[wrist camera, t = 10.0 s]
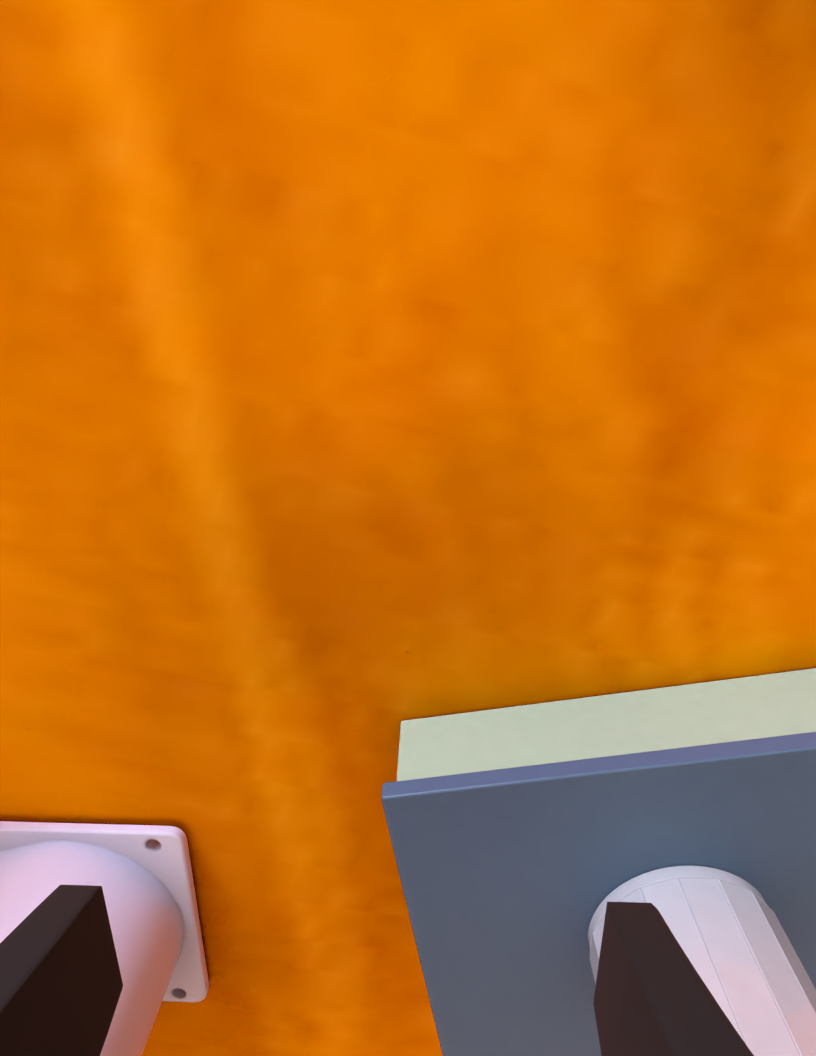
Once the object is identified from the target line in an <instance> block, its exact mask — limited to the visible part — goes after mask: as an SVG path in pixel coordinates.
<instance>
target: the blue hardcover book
mask: <svg viewBox="0 0 816 1056" xmlns="http://www.w3.org/2000/svg"><path fill="white" fill-rule="evenodd" d="M381 800H382V804H383V808H384V812H385V817H386V821H387V825H388V829H389V833H390V837H391V842H392V846H393V850H394V854H395V858H396V862H397V867H398V871H399V875H400V879H401V883H402V887H403V892H404V896H405V900H406V904H407V908H408V912H409V917H410V921H411V925H412V929H413V933H414V937H415V942H416V946H417V950H418V954H419V958H420V963H421V967H422V971H423V975H424V979H425V983H426V988H427V992H428V996H429V1000H430V1004H431V1008H432V1013H433V1017H434V1021H435V1025H436V1029H437V1033H438V1038H439V1042H440V1046H441V1050H442V1054H443V1056H602V1055H601V1049H600V1043H599V1036H598V1030H597V1024H596V1017H595V1011H594V1004H593V1001H594V994H595V987H596V985H595V981H594V976H593V972H592V967H591V963H590V958H589V957H590V952H589V947H588V929H589V925H590V921H591V919H592V916H593V914H594V912H595V911H596V909H597V907H598V906H599V905H600V903H601V902H602V901H603V900H604V898H605V897H606V896H608V895H609V894H610V893H611V892H612V891H613V890H614V889H616V888H617V887H618V886H620V885H621V884H623V883H625V882H626V881H628V880H630V879H632V878H634V877H636V876H638V875H641V874H643V873H646V872H649V871H652V870H656V869H660V868H665V867H672V866H684V865H694V866H706V867H711V868H717V869H720V870H723V871H727V872H729V873H732V874H734V875H736V876H739V877H740V878H742V879H744V880H745V881H747V882H748V883H750V884H751V885H752V886H753V887H755V888H756V889H757V890H758V891H759V892H760V893H761V894H762V896H763V897H764V898H765V900H766V901H767V903H768V905H769V907H770V908H771V910H773V911H774V913H775V915H776V916H777V918H778V920H779V922H780V924H781V926H782V928H783V929H784V931H785V933H786V935H787V937H788V939H789V941H790V942H791V944H792V946H793V948H794V950H795V952H796V954H797V955H798V957H799V959H800V961H801V963H802V965H803V967H804V968H805V970H806V972H807V974H808V976H809V978H810V980H811V981H812V983H813V985H814V987H815V989H816V668H813V669H805V670H797V671H789V672H781V673H773V674H765V675H758V676H750V677H742V678H734V679H726V680H718V681H710V682H703V683H695V684H687V685H679V686H671V687H663V688H656V689H648V690H640V691H632V692H624V693H616V694H608V695H601V696H593V697H585V698H577V699H569V700H561V701H553V702H546V703H538V704H530V705H522V706H514V707H506V708H498V709H491V710H483V711H475V712H467V713H459V714H451V715H443V716H436V717H428V718H420V719H412V720H404V721H401V727H400V740H399V753H398V766H397V780H396V782H387V783H383V786H382V795H381Z"/></svg>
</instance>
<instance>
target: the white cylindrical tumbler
mask: <svg viewBox="0 0 816 1056" xmlns="http://www.w3.org/2000/svg"><path fill="white" fill-rule="evenodd" d="M607 902H639V903H652V904H653V905H654V906H655V907H656V908H657V909H658V910H659V912H660V914H661V915H662V917H663V919H664V920H665V922H666V924H667V925H668V927H669V928H670V930H671V932H672V933H673V935H674V936H675V938H676V940H677V941H678V943H679V945H680V946H681V948H682V949H683V951H684V952H685V954H686V956H687V957H688V959H689V960H690V962H691V963H692V965H693V966H694V968H695V970H696V971H697V973H698V974H699V976H700V977H701V979H702V980H703V982H704V983H705V985H706V986H707V988H708V989H709V991H710V992H711V994H712V995H713V997H714V998H715V1000H716V1001H717V1003H718V1004H719V1006H720V1007H721V1009H722V1010H723V1012H724V1013H725V1015H726V1016H727V1018H728V1019H729V1021H730V1022H731V1024H732V1025H733V1027H734V1028H735V1029H736V1031H737V1032H738V1034H739V1035H740V1037H741V1038H742V1040H743V1041H744V1042H745V1044H746V1045H747V1047H748V1048H749V1049H750V1051H751V1052H752V1054H753V1055H754V1056H816V989H815V987H814V985H813V983H812V981H811V980H810V978H809V976H808V974H807V972H806V970H805V968H804V967H803V965H802V963H801V961H800V959H799V957H798V955H797V954H796V952H795V950H794V948H793V946H792V944H791V942H790V941H789V939H788V937H787V935H786V933H785V931H784V929H783V928H782V926H781V924H780V922H779V920H778V918H777V916H776V915H775V913H774V911H773V910H771V908H770V907H769V905H768V903H767V901H766V900H765V898H764V897H763V896H762V894H761V893H760V892H759V891H758V890H757V889H756V888H755V887H753V886H752V885H751V884H750V883H748V882H747V881H745V880H744V879H742V878H740V877H739V876H736V875H734V874H732V873H729V872H727V871H723V870H720V869H717V868H711V867H706V866H694V865H684V866H672V867H665V868H660V869H656V870H652V871H649V872H646V873H643V874H641V875H638V876H636V877H634V878H632V879H630V880H628V881H626V882H625V883H623V884H621V885H620V886H618V887H617V888H616V889H614V890H613V891H612V892H611V893H610V894H609V895H608V896H606V897H605V898H604V900H603V901H602V902H601V903H600V905H599V906H598V907H597V909H596V911H595V912H594V914H593V916H592V919H591V921H590V925H589V929H588V947H589V952H590V957H589V958H590V963H591V967H592V972H593V976H594V981H595V985H596V979H597V972H598V965H599V957H600V950H601V942H602V935H603V928H604V920H605V913H606V906H607Z"/></svg>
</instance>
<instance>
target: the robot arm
mask: <svg viewBox="0 0 816 1056" xmlns="http://www.w3.org/2000/svg"><path fill="white" fill-rule="evenodd" d="M152 839H154V840H157V841H158V842H156V841H154V840H152ZM208 989H209V981H208V974H207V967H206V961H205V954H204V948H203V941H202V934H201V928H200V921H199V914H198V908H197V901H196V895H195V888H194V881H193V875H192V868H191V861H190V855H189V848H188V842H187V837H186V834H185V833H184V832H183V831H182V830H181V829H180V828H178V827H174V826H157V825H121V824H85V823H49V822H12V821H0V1056H142V1054H143V1051H144V1048H145V1046H146V1043H147V1040H148V1038H149V1035H150V1032H151V1030H152V1027H153V1025H154V1022H155V1019H156V1017H157V1014H158V1011H159V1009H160V1006H161V1003H162V1001H169V1002H200V1001H202V1000H204V999H205V997H206V995H207V992H208ZM593 1004H594V1011H595V1017H596V1024H597V1030H598V1036H599V1043H600V1049H601V1055H602V1056H754V1055H753V1054H752V1052H751V1051H750V1049H749V1048H748V1047H747V1045H746V1044H745V1042H744V1041H743V1040H742V1038H741V1037H740V1035H739V1034H738V1032H737V1031H736V1029H735V1028H734V1027H733V1025H732V1024H731V1022H730V1021H729V1019H728V1018H727V1016H726V1015H725V1013H724V1012H723V1010H722V1009H721V1007H720V1006H719V1004H718V1003H717V1001H716V1000H715V998H714V997H713V995H712V994H711V992H710V991H709V989H708V988H707V986H706V985H705V983H704V982H703V980H702V979H701V977H700V976H699V974H698V973H697V971H696V970H695V968H694V966H693V965H692V963H691V962H690V960H689V959H688V957H687V956H686V954H685V952H684V951H683V949H682V948H681V946H680V945H679V943H678V941H677V940H676V938H675V936H674V935H673V933H672V932H671V930H670V928H669V927H668V925H667V924H666V922H665V920H664V919H663V917H662V915H661V914H660V912H659V910H658V909H657V908H656V907H655V906H654V905H653V904H652V903H639V902H607V906H606V913H605V920H604V928H603V935H602V942H601V950H600V957H599V965H598V972H597V979H596V987H595V994H594V1001H593Z"/></svg>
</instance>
